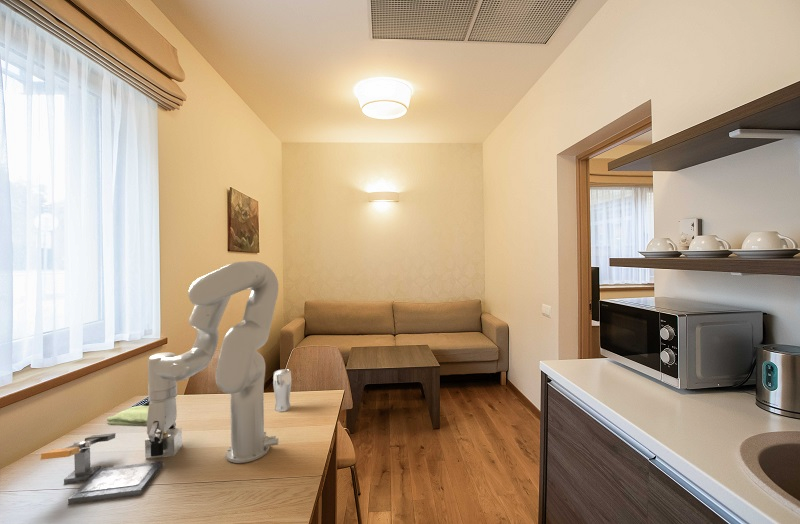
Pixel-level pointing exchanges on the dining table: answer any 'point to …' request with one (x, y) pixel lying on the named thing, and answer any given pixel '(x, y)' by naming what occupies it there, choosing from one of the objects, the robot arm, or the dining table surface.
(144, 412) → the washcloth
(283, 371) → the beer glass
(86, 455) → the press bed
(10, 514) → the dining table surface
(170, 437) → the block
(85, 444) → the press lever
